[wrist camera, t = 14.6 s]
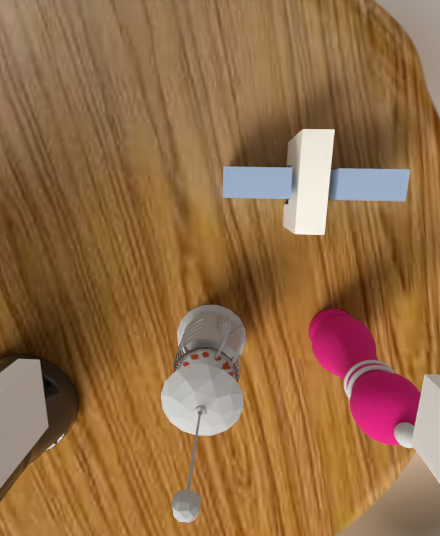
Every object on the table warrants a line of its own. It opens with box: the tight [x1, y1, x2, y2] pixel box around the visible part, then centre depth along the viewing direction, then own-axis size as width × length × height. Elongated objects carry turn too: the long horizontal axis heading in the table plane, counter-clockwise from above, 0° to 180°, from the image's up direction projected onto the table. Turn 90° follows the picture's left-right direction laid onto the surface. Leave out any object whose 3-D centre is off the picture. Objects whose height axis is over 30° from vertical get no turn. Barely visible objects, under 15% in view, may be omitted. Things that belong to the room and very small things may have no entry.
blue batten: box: [223, 166, 410, 201], centre depth 35 cm, size 18×3×8 cm, turn 89°
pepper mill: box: [309, 309, 421, 448], centre depth 33 cm, size 7×7×20 cm
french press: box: [161, 305, 246, 522], centre depth 31 cm, size 10×12×25 cm
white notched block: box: [283, 129, 335, 235], centre depth 35 cm, size 10×3×8 cm, turn 179°
